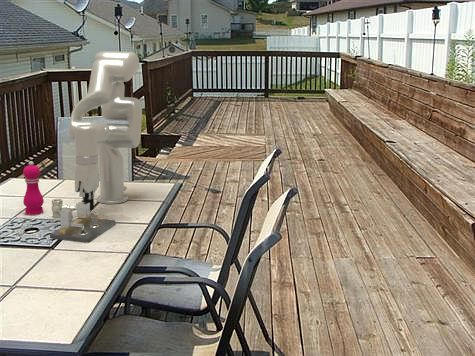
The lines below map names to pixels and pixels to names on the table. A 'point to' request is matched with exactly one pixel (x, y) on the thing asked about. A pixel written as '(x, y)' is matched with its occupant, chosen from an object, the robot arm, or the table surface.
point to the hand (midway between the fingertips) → (88, 209)
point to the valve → (60, 207)
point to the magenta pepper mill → (32, 190)
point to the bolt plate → (80, 227)
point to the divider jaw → (85, 210)
